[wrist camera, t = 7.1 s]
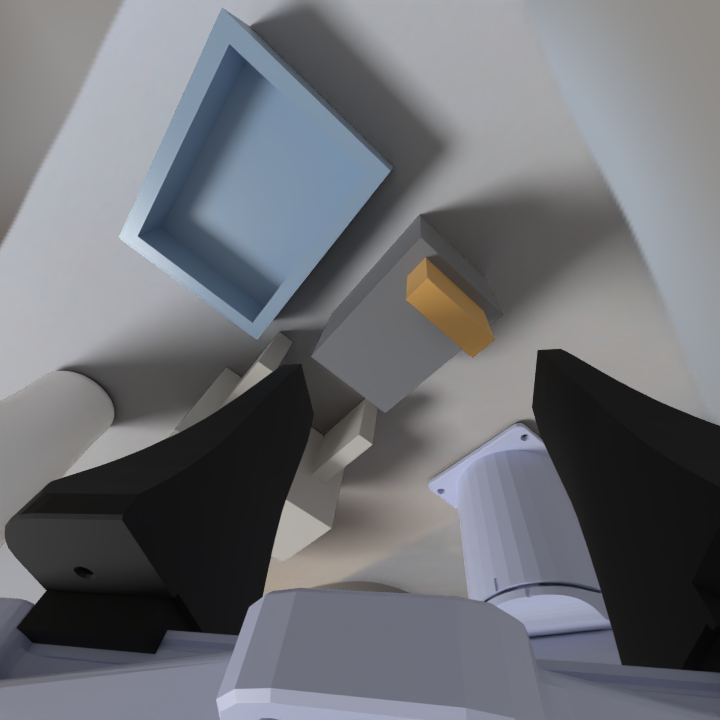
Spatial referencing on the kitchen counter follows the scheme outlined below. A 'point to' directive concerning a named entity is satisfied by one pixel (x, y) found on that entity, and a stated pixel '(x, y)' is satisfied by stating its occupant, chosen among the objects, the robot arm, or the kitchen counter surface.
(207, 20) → the kitchen counter surface
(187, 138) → the tray
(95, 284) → the kitchen counter surface
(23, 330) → the kitchen counter surface
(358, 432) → the bay
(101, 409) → the drinking glass
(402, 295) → the gray block with tab
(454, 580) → the kitchen counter surface
